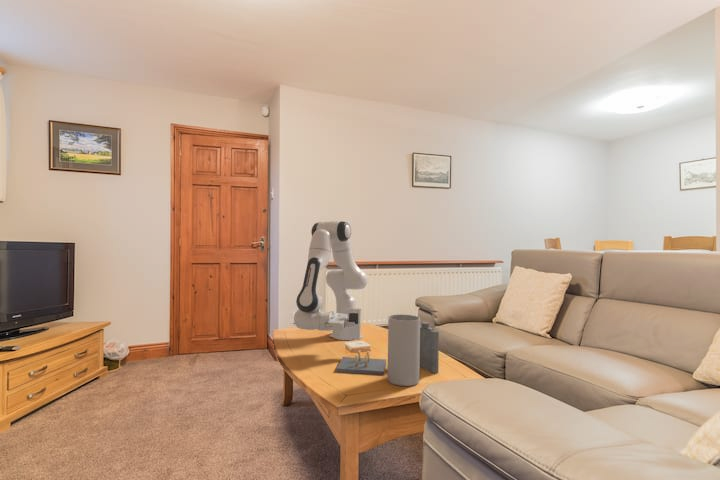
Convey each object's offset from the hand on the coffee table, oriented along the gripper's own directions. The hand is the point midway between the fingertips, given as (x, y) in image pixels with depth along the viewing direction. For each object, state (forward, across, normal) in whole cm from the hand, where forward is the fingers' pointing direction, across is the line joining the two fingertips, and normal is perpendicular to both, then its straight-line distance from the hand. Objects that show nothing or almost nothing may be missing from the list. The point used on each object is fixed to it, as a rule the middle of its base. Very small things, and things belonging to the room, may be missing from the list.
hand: (355, 322), depth 172 cm
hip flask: (+32, -10, +17) cm, 37 cm away
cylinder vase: (+23, -26, +16) cm, 39 cm away
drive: (-1, 0, +8) cm, 8 cm away
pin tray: (+5, -14, +16) cm, 22 cm away
